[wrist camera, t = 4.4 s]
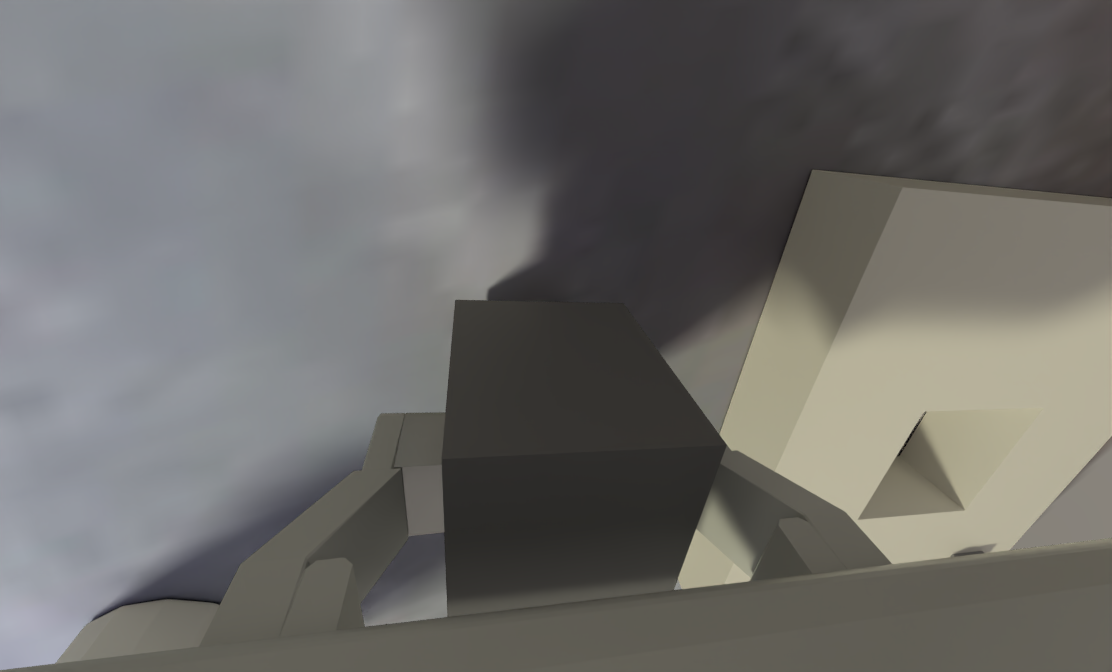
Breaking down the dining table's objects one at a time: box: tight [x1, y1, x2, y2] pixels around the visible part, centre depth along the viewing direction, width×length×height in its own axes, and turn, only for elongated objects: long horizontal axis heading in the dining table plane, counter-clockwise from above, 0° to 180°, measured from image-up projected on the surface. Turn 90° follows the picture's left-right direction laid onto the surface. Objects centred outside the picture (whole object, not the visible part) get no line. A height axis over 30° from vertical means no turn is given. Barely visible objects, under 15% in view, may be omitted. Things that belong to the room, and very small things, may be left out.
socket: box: [678, 170, 1112, 589], centre depth 16 cm, size 18×14×4 cm
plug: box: [442, 300, 727, 617], centre depth 10 cm, size 5×4×7 cm
